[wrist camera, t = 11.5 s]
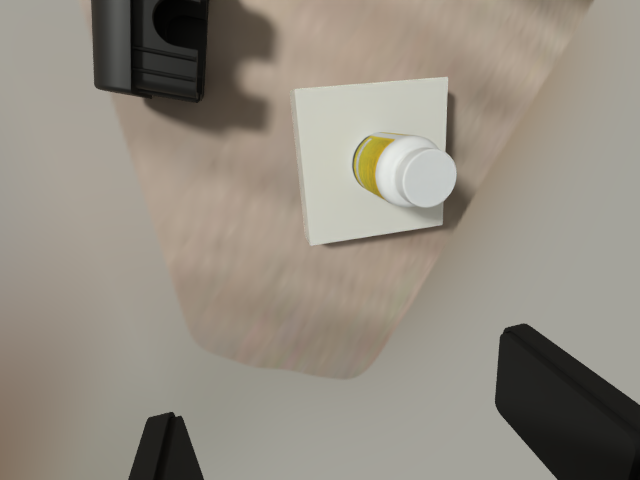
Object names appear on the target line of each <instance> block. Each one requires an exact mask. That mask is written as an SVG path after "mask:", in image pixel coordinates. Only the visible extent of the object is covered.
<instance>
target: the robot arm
mask: <svg viewBox="0 0 640 480" xmlns="http://www.w3.org/2000/svg"><path fill="white" fill-rule="evenodd" d="M495 404H496V407H497V410H498V411H499V413H500V414H501V415H502V417H503V418H504V419H505V420H506V421H507V422H508V424H509V425H510V426H511V427H512V428H513V429H514V430H515V432H516V433H517V434H518V435H519V436H520V437H521V438H522V440H523V441H524V442H525V443H526V444H527V445H528V446H529V448H530V449H531V450H532V451H533V452H534V453H535V454H536V455H537V457H538V458H539V459H540V460H541V461H542V462H543V464H545V466H546V467H547V468H548V469H549V470H550V471H551V473H552V474H553V475H554V476H555V477H556V478H557V480H640V405H639V404H637V403H636V402H635V401H633V400H632V399H631V398H629V397H628V396H626V395H625V394H624V393H622V392H621V391H620V390H618V389H617V388H615V387H614V386H613V385H611V384H610V383H608V382H607V381H606V380H604V379H603V378H601V377H600V376H599V375H597V374H596V373H595V372H593V371H592V370H590V369H589V368H588V367H586V366H585V365H583V364H582V363H581V362H579V361H578V360H576V359H575V358H574V357H572V356H571V355H570V354H568V353H567V352H565V351H564V350H563V349H561V348H560V347H558V346H557V345H556V344H554V343H553V342H551V341H550V340H549V339H547V338H546V337H545V336H543V335H542V334H540V333H539V332H538V331H536V330H535V329H533V328H532V327H531V326H529V325H527V324H520V325H515V326H511V327H508V328H505V330H504V332H503V334H502V335H501V336H500V344H499V356H498V369H497V382H496V395H495ZM128 480H204V479H203V475H202V473H201V470H200V467H199V464H198V461H197V458H196V455H195V452H194V449H193V446H192V444H191V441H190V438H189V435H188V432H187V429H186V426H185V423H184V420H183V418H182V416H178V417H175V415H174V413H173V412H169V413H165V414H161V415H157V416H153V417H149V418H148V419H147V422H146V424H145V428H144V431H143V434H142V438H141V440H140V444H139V447H138V450H137V454H136V456H135V460H134V463H133V467H132V469H131V473H130V476H129V479H128Z"/></svg>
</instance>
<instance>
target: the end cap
mask: <svg viewBox="0 0 640 480" xmlns="http://www.w3.org/2000/svg"><path fill="white" fill-rule="evenodd" d="M91 6H92V34H93V62H94V85H95V87H96V88H98V89H100V90H104V91H110V92H115V93H121V94H126V95H132V96H138V97H144V98H150V99H152V95H154V96H160V97H166V98H172V99H178V100H184V101H190V102H196V103H198V102H199V101H200V100H201V101H202V98H203V96H204V85H205V65H206V45H207V25H208V6H209V0H91Z"/></svg>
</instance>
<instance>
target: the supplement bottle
mask: <svg viewBox="0 0 640 480" xmlns="http://www.w3.org/2000/svg"><path fill="white" fill-rule="evenodd" d="M351 168H352V173H353V175H354V178H355V179H356V181H357V182H358V183H359V184H360V185H361V186H362V187H363V188H365V189H366V190H368V191H370V192H371V193H373V194H375V195H377V196H379V197H380V198H382V199H384V200H386V201H387V202H389V203H391V204H394V205H396V206H399V207H406V208H408V207H415V206H418V207H423V208H428V207H433V206H436V205H438V204H440V203H442V202H443V201H444V200H445V199H446V198H447V197H448V196H449V195H450V194H451V192H452V190H453V188H454V186H455V183H456V177H457V172H456V166H455V163H454V161H453V159H452V158H451V157H450V156H449V155H448V154H447V153H446V152H444V151H442V150H439V148H438V147H437V146H436V145H435V144H434V143H433V142H432V141H430V140H429V139H427V138H425V137H421V136H416V135H406V134H397V133H388V132H377V133H373V134H370V135H368V136H366V137H365V138H363V139H362V140H361V141H360V142H359V143H358V145H357V146H356V148H355V150H354V152H353V155H352V160H351Z"/></svg>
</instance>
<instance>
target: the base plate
mask: <svg viewBox="0 0 640 480" xmlns="http://www.w3.org/2000/svg"><path fill="white" fill-rule="evenodd" d="M447 93H448V77H440V78H427V79H415V80H402V81H389V82H377V83H364V84H351V85H339V86H326V87H314V88H301V89H294V90H292V91H290V99H291V109H292V118H293V127H294V137H295V146H296V155H297V165H298V174H299V183H300V193H301V202H302V211H303V221H304V230H305V237H306V239H307V240H308V242H309V244H310V246H312V245H319V244H325V243H331V242H338V241H344V240H350V239H357V238H363V237H369V236H376V235H382V234H389V233H395V232H401V231H408V230H414V229H420V228H427V227H433V226H439V225H443V202H444V201H443V202H442V203H440V204H438V205H436V206H433V207H428V208H423V207H418V206H415V207H408V208H406V207H399V206H396V205H394V204H391V203H389V202H387V201H386V200H384V199H382V198H380V197H379V196H377V195H375V194H373V193H371V192H370V191H368V190H366V189H365V188H363V187H362V186H361V185H360V184H359V183H358V182H357V181H356V179H355V178H354V175H353V173H352V168H351V160H352V155H353V152H354V150H355V148H356V146H357V145H358V143H359V142H360V141H361V140H362V139H363V138H365V137H366V136H368V135H370V134H373V133H377V132H388V133H397V134H406V135H416V136H421V137H425V138H427V139H429V140H430V141H432V142H433V143H434V144H435V145H436V146H437V147H438V148H439V150H442V151H444V152H445V148H446V120H447Z"/></svg>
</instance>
